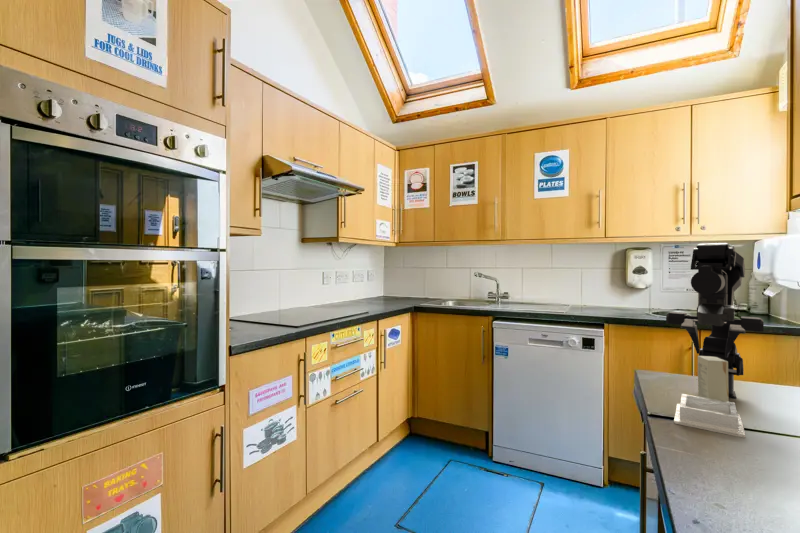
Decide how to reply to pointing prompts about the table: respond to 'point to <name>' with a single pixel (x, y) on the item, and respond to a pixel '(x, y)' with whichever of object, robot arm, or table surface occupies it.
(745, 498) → the table surface
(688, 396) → the square open tray
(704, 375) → the skincare box
